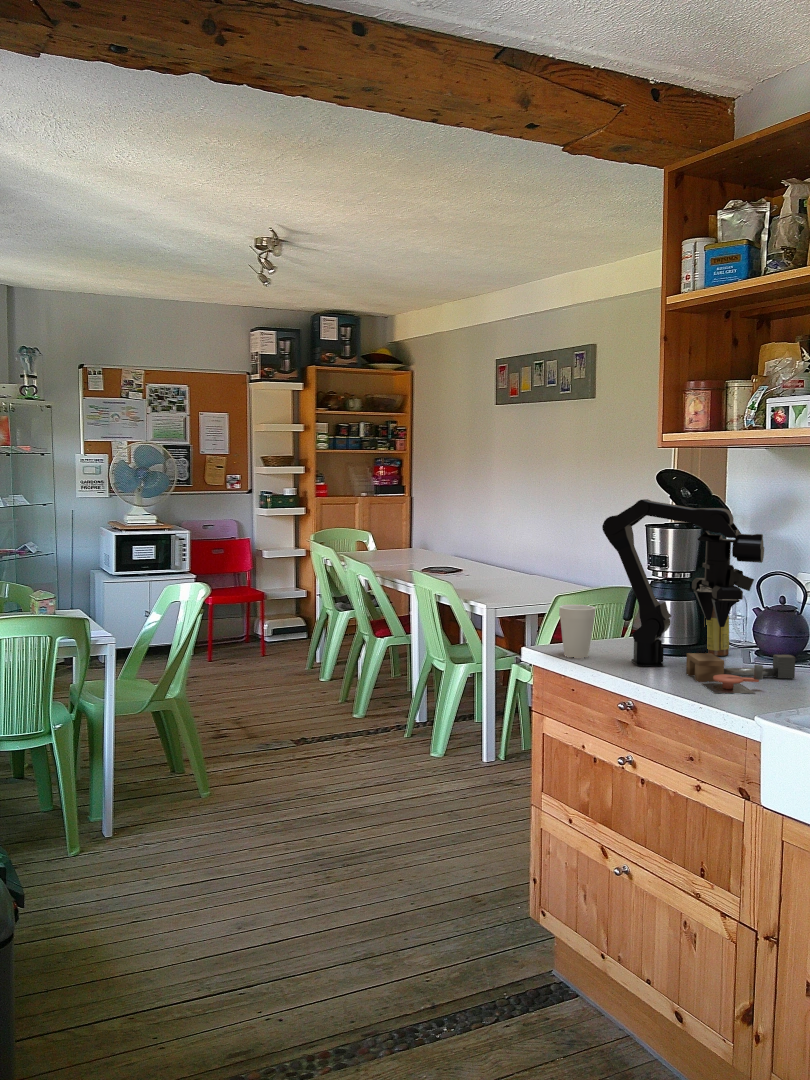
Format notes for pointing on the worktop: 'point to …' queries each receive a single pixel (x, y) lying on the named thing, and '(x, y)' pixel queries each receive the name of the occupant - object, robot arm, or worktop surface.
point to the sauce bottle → (717, 636)
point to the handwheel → (739, 678)
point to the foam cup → (576, 629)
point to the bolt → (781, 668)
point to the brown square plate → (718, 689)
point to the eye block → (704, 666)
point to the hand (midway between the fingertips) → (714, 623)
